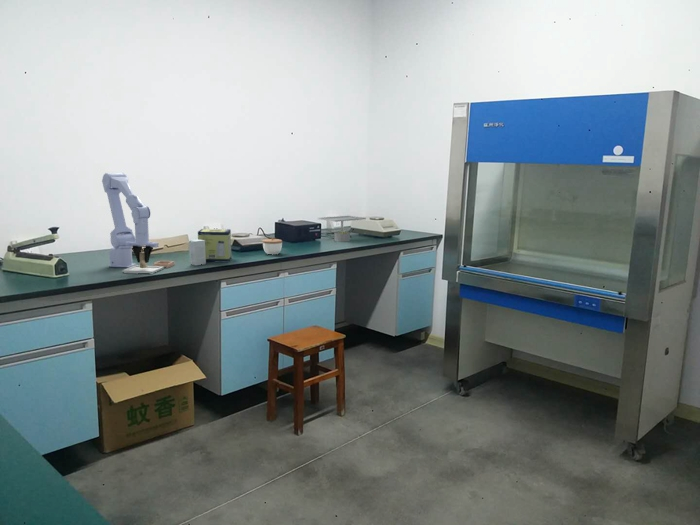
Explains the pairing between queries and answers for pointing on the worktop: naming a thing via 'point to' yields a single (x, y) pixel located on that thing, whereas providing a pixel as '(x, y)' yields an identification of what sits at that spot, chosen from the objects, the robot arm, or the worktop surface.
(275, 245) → the lidded jar
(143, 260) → the dowel pin
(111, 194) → the robot arm
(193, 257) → the skincare box
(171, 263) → the pin cup
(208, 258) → the protein box
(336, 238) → the solar panel model
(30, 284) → the worktop surface
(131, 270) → the tray
